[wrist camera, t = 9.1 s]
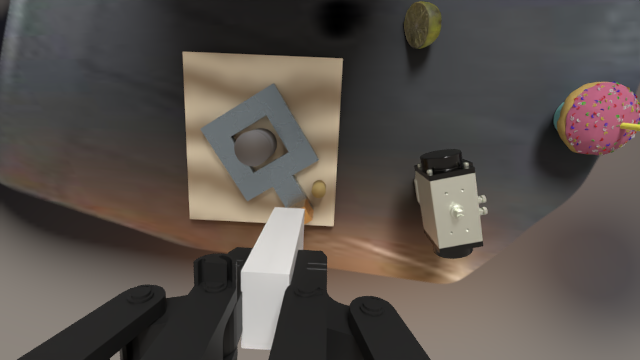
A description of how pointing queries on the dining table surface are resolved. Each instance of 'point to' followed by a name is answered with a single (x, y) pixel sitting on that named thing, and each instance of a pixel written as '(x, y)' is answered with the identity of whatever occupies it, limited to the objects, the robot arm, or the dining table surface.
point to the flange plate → (276, 171)
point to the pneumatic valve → (449, 203)
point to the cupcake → (598, 118)
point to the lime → (422, 24)
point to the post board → (237, 87)
